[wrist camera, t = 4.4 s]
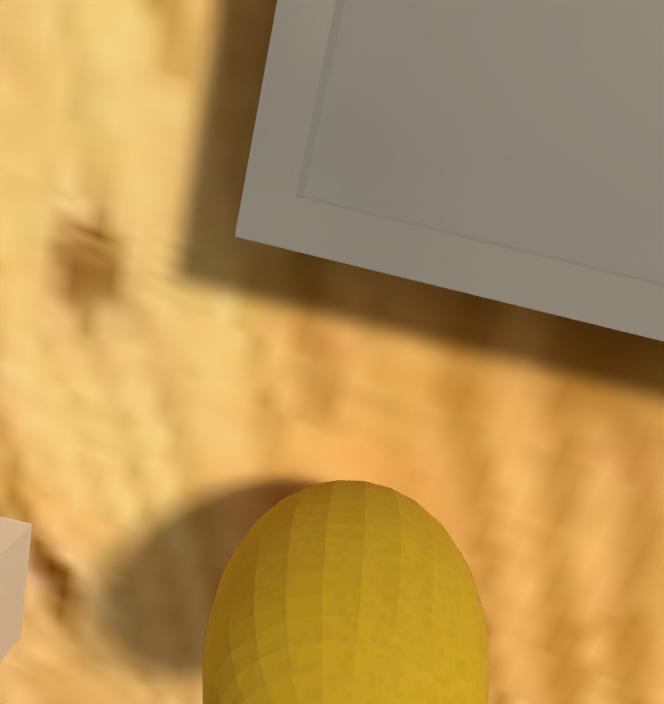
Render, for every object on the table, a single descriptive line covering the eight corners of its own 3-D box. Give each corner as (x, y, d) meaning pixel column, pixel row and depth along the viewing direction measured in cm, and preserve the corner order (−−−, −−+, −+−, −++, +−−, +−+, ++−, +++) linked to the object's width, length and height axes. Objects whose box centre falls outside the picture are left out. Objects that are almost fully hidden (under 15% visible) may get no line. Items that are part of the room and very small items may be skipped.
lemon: (407, 633, 16) (437, 1025, 9) (225, 564, 16) (92, 906, 9) (493, 472, 15) (620, 780, 7) (292, 394, 15) (203, 626, 7)
